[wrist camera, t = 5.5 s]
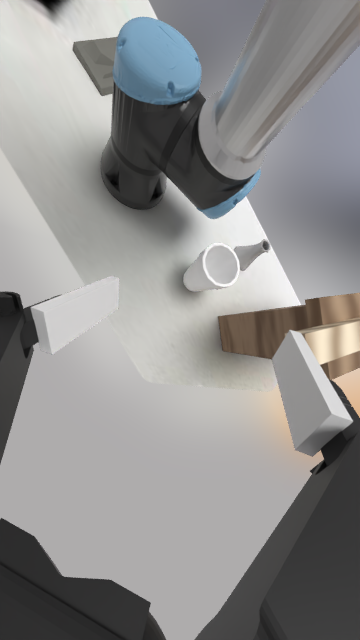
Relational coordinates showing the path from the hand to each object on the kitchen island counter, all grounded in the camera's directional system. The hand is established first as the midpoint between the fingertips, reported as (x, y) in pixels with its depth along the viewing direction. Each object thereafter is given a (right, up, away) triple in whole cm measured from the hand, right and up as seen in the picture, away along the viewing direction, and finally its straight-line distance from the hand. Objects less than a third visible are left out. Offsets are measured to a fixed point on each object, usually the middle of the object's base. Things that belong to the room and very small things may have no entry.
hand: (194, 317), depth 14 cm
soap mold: (-16, +63, +32) cm, 72 cm away
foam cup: (+3, +11, +37) cm, 38 cm away
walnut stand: (+22, -3, +44) cm, 49 cm away
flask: (+18, +19, +43) cm, 50 cm away
